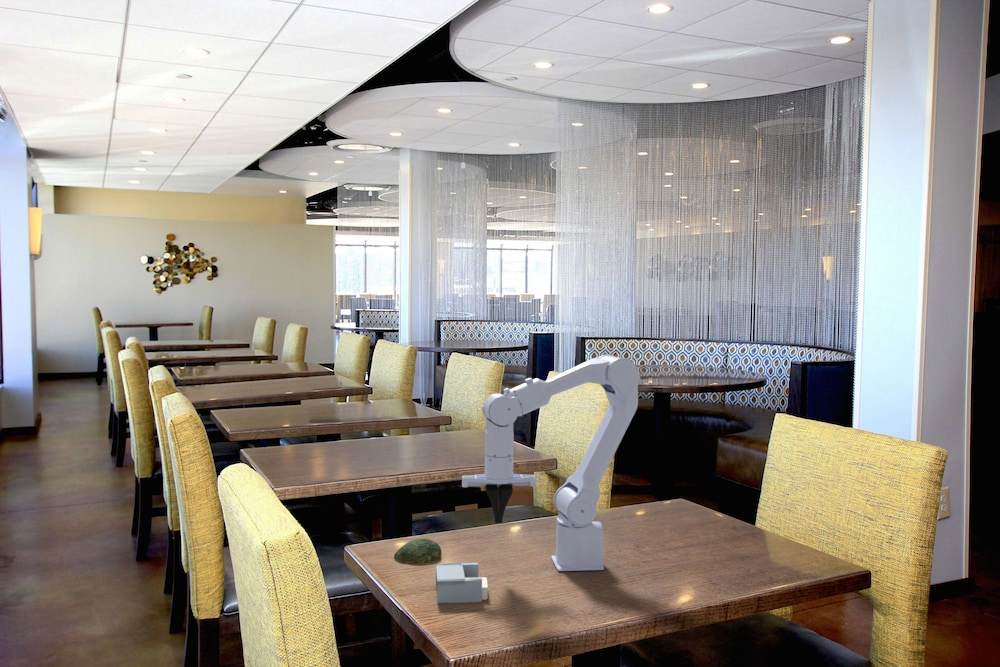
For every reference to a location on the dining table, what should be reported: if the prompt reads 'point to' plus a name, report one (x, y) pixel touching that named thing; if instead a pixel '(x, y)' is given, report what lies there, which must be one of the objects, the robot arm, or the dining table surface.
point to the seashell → (418, 552)
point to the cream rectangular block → (484, 586)
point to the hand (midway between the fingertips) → (498, 521)
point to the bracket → (458, 583)
